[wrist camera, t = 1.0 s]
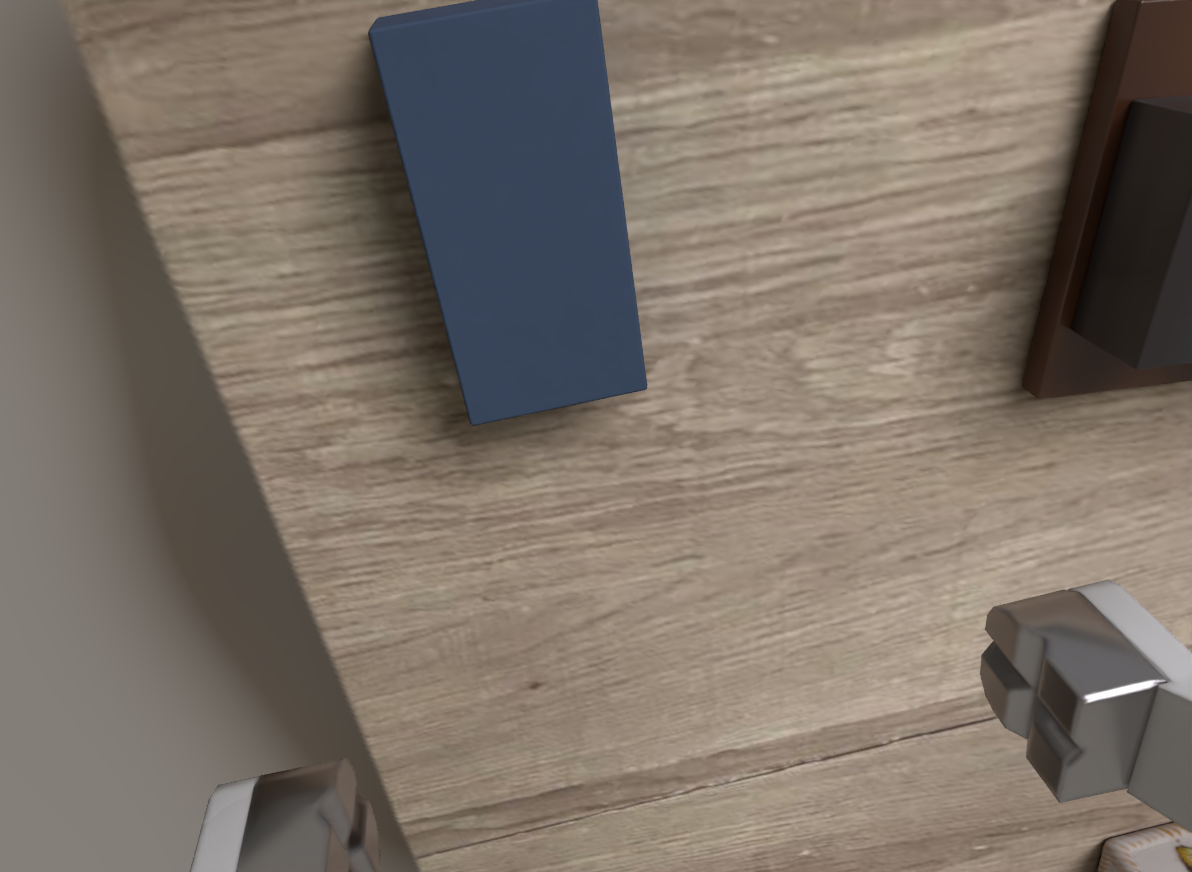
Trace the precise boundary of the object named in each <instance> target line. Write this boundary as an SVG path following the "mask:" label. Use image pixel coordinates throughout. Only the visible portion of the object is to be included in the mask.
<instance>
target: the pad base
mask: <svg viewBox="0 0 1192 872" xmlns="http://www.w3.org/2000/svg"><path fill="white" fill-rule="evenodd" d="M1191 380H1192V0H1116V2H1115V6H1114V10H1113V14H1112V18H1111V22H1110V26H1109V30H1108V34H1107V38H1106V43H1105V47H1104V51H1103V55H1102V59H1101V63H1100V67H1099V71H1098V75H1097V79H1096V83H1095V88H1094V92H1093V96H1092V100H1091V104H1090V108H1089V112H1088V116H1087V120H1086V124H1085V129H1084V133H1083V137H1082V141H1081V145H1080V149H1079V153H1078V157H1077V161H1076V165H1075V170H1074V174H1073V178H1072V182H1071V186H1070V190H1069V194H1068V198H1067V202H1066V206H1065V210H1064V215H1063V219H1062V223H1061V227H1060V231H1059V235H1058V239H1057V243H1056V247H1055V251H1054V256H1053V260H1052V264H1051V268H1050V272H1049V276H1048V280H1047V284H1046V288H1045V292H1044V297H1043V301H1042V305H1041V309H1040V313H1039V317H1038V321H1037V325H1036V329H1035V333H1034V337H1033V342H1032V346H1031V350H1030V354H1029V358H1028V362H1027V366H1026V370H1025V374H1024V378H1023V383H1022V387H1023V388H1024V389H1025V390H1027V391H1028V392H1029V393H1031V394H1032V395H1033V396H1035V397H1036V398H1037V399H1044V398H1052V397H1061V396H1069V395H1077V394H1085V393H1093V392H1101V391H1110V390H1118V389H1126V388H1134V387H1142V386H1151V385H1159V384H1167V383H1175V382H1183V381H1191Z"/></svg>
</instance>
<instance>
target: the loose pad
mask: <svg viewBox="0 0 1192 872" xmlns="http://www.w3.org/2000/svg"><path fill="white" fill-rule="evenodd" d="M368 35H369V39H370V42H371V46H372V50H373V54H374V58H375V61H376V65H377V69H378V73H379V77H380V81H381V84H382V88H383V92H384V96H385V100H386V104H387V107H388V111H389V115H390V119H391V123H392V126H393V130H394V134H395V138H396V142H397V146H398V149H399V153H400V157H401V161H402V165H403V169H404V172H405V176H406V180H407V184H408V188H409V191H410V195H411V199H412V203H413V207H414V211H415V214H416V218H417V222H418V226H419V230H420V234H421V237H422V241H423V245H424V249H425V253H426V256H427V260H428V264H429V268H430V272H431V276H432V279H433V283H434V287H435V291H436V295H437V299H438V302H439V306H440V310H441V314H442V318H443V321H444V325H445V329H446V333H447V337H448V341H449V344H450V348H451V352H452V356H453V360H454V364H455V367H456V371H457V375H458V379H459V383H460V386H461V390H462V394H463V398H464V402H465V406H466V409H467V413H468V417H469V421H470V424H471V425H472V426H475V425H479V424H484V423H489V422H494V421H499V420H503V419H508V418H513V417H518V416H522V415H527V414H532V413H537V412H542V411H546V410H551V409H556V408H561V407H565V406H570V405H575V404H580V403H585V402H589V401H594V400H599V399H604V398H608V397H613V396H618V395H623V394H628V393H632V392H637V391H642V390H645V389H647V380H646V373H645V365H644V357H643V349H642V342H641V334H640V326H639V318H638V311H637V303H636V295H635V287H634V280H633V272H632V264H631V256H630V249H629V241H628V233H627V225H626V218H625V210H624V202H623V194H622V187H621V179H620V171H619V163H618V156H617V148H616V140H615V133H614V125H613V117H612V109H611V102H610V94H609V86H608V78H607V71H606V63H605V55H604V47H603V40H602V32H601V24H600V16H599V9H598V1H597V0H476V1H470V2H465V3H459V4H453V5H448V6H442V7H437V8H431V9H425V10H420V11H414V12H408V13H403V14H397V15H391V16H386V17H380V18H378V19H376V21H375V22H374V24H373V25H372V27H371V28H370V29H369V33H368Z"/></svg>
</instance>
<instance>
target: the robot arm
mask: <svg viewBox="0 0 1192 872" xmlns="http://www.w3.org/2000/svg"><path fill="white" fill-rule="evenodd" d="M985 630H986V631H987V633H988V634H989V635H990V637H991V638H992V639H993V640H994V641H993V642H992V643H991V644H990V646H989V647H988V648H987V649H986V650H985V651H984V653H983V654H982V657H981V669H980V675H981V680H982V684H983V688H984V692H985V695H986V697H987V699H988V701H989V703H990V705H991V708H992V710H993V711H994V713H995V714H996V716H997V717H998V719H999V720H1000V721H1001V723H1002V724H1003V726H1004V727H1005V728H1006V729H1008V730H1010V731H1012V732H1014V733H1016V734H1018V735H1020V736H1022V737H1024V738H1025V739H1027V750H1026V758H1027V759H1028V761H1029V762H1030V763H1031V765H1032V766H1033V767H1034V769H1035V770H1036V772H1037V773H1038V774H1039V776H1040V777H1041V778H1042V780H1043V781H1044V782H1045V784H1046V785H1047V787H1048V788H1049V789H1050V791H1051V792H1052V793H1053V795H1054V796H1055V798H1056V799H1057V800H1058V802H1059V803H1062V802H1067V801H1071V800H1076V799H1080V798H1085V797H1090V796H1094V795H1099V794H1103V793H1108V792H1113V791H1117V790H1122V789H1126V788H1128V790H1127V792H1128V793H1129V794H1131V795H1132V796H1134V797H1136V798H1137V799H1139V800H1140V801H1142V802H1143V803H1145V804H1147V805H1148V806H1150V807H1151V808H1153V809H1154V810H1156V811H1158V812H1159V813H1161V814H1162V815H1164V816H1165V817H1167V818H1169V819H1170V820H1172V821H1173V822H1175V823H1176V824H1178V825H1180V826H1181V827H1183V828H1184V829H1186V830H1187V831H1189V832H1191V833H1192V652H1191V651H1190V650H1189V649H1188V648H1186V647H1185V646H1184V645H1183V644H1182V643H1181V642H1180V641H1179V640H1178V639H1177V638H1176V637H1175V636H1174V635H1173V634H1172V633H1170V632H1169V631H1168V630H1167V629H1166V628H1165V627H1164V626H1163V625H1162V624H1161V623H1160V622H1159V621H1158V620H1157V619H1156V618H1154V617H1153V616H1152V615H1151V614H1150V613H1149V612H1148V611H1147V610H1146V609H1145V608H1144V607H1143V606H1142V605H1141V604H1139V603H1138V602H1137V601H1136V600H1135V599H1134V598H1133V597H1132V596H1131V595H1130V594H1129V593H1128V592H1127V591H1126V590H1125V589H1123V588H1122V587H1121V586H1120V585H1119V584H1117V583H1114V582H1112V581H1110V580H1105V581H1101V582H1097V583H1092V584H1088V585H1084V586H1079V587H1075V588H1071V589H1068V590H1060V591H1056V592H1052V593H1048V594H1044V595H1040V596H1036V597H1031V598H1027V599H1023V600H1019V601H1015V602H1011V603H1007V604H1003V605H999V606H995V607H993V608H992V609H991V611H990V612H989V613H988V615H987V620H986V627H985ZM356 783H357V775H356V773H355V771H354V769H353V767H352V765H351V763H350V762H349V760H348V759H340V760H335V761H330V762H325V763H320V764H315V765H310V766H305V767H300V768H296V769H291V770H286V771H281V772H276V773H271V774H266V775H261V776H258V777H254V778H249V779H244V780H240V781H235V782H230V783H226V784H221V785H218V786H217V788H216V789H215V791H214V792H213V794H212V795H211V797H210V799H209V801H208V805H207V809H206V813H205V816H204V820H203V824H202V828H201V831H200V835H199V839H198V843H197V847H196V850H195V854H194V858H193V862H192V866H191V869H190V872H380V846H379V835H378V828H377V824H376V820H375V817H374V812H373V810H372V808H371V805H370V803H369V801H368V799H366V798H364V797H362V796H360V795H358V794H356Z"/></svg>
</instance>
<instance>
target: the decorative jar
mask: <svg viewBox="0 0 1192 872" xmlns="http://www.w3.org/2000/svg"><path fill="white" fill-rule="evenodd" d="M1097 872H1192V833H1191V832H1189V831H1187V830H1186V829H1184V828H1183V827H1181V826H1180V825H1178V824H1176V823H1175V822H1173V823H1169V824H1165V825H1161V826H1157V827H1152V828H1148V829H1144V830H1141V831H1137V832H1133V833H1129V834H1126V835H1122V836H1118V837H1114V838H1111V839H1108V840H1106V841H1105V844H1104V846H1103V850H1102V855H1101V859H1100V863H1099V867H1098V871H1097Z"/></svg>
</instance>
